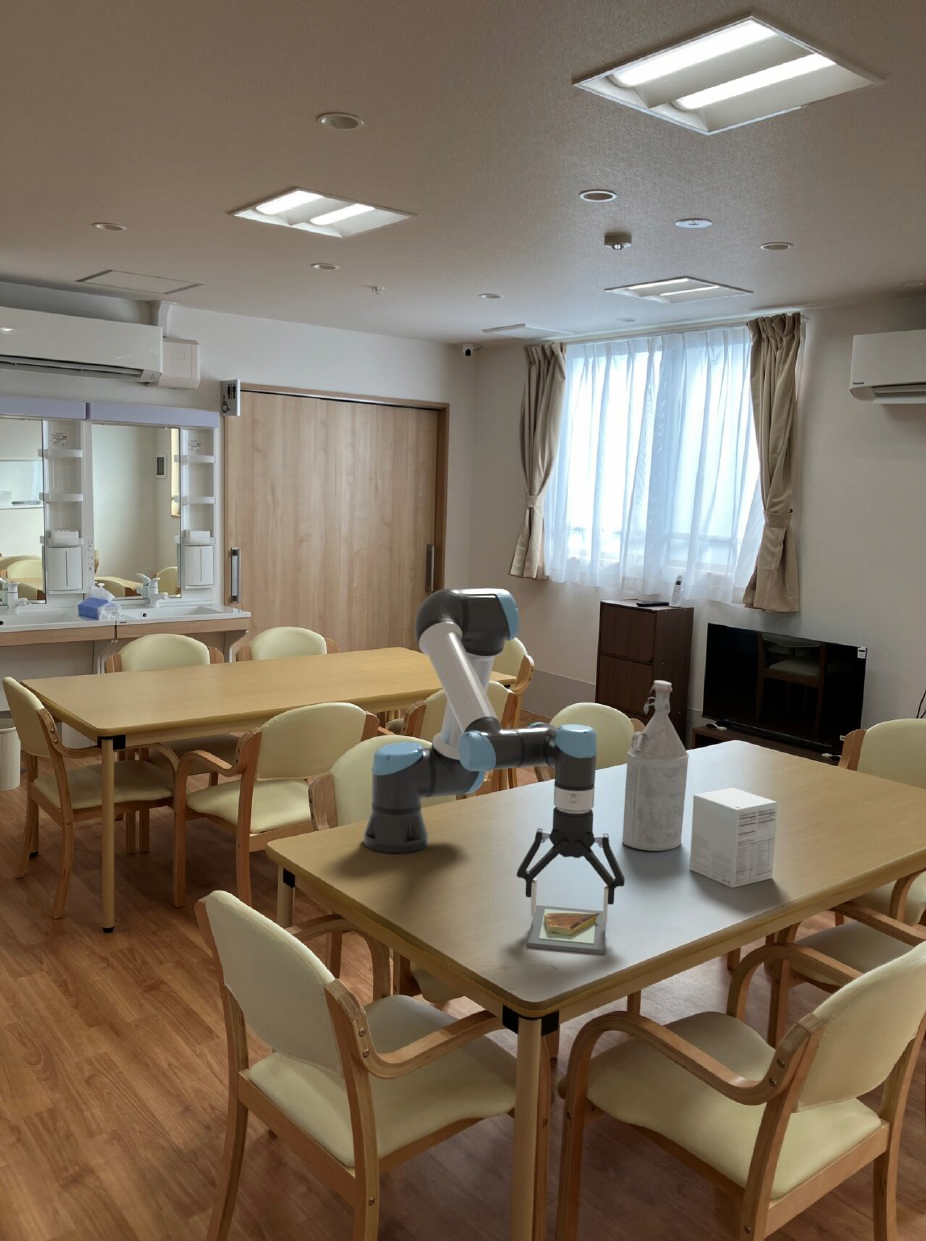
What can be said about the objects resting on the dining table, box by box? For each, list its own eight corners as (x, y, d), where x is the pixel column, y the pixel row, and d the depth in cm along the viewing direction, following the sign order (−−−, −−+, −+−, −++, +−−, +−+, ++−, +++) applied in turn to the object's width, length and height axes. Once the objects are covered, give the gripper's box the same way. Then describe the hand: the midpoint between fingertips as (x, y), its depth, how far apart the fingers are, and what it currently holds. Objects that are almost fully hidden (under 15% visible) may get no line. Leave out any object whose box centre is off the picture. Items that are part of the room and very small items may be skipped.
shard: (599, 920, 195) (599, 911, 195) (606, 937, 187) (607, 927, 187) (543, 920, 194) (543, 911, 194) (548, 936, 187) (548, 927, 186)
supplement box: (774, 878, 223) (779, 801, 221) (732, 889, 216) (737, 809, 214) (729, 860, 234) (733, 786, 232) (687, 869, 227) (692, 793, 225)
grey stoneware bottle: (607, 843, 244) (615, 680, 239) (653, 829, 255) (661, 674, 251) (649, 857, 234) (658, 689, 230) (694, 843, 245) (703, 682, 241)
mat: (527, 946, 184) (527, 941, 184) (535, 908, 202) (535, 904, 202) (604, 954, 182) (604, 948, 182) (606, 915, 200) (606, 910, 200)
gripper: (505, 808, 188) (501, 918, 190) (641, 818, 184) (635, 930, 186) (509, 797, 195) (505, 903, 197) (640, 807, 191) (635, 914, 194)
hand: (568, 916), depth 192 cm, fingers open, 13 cm apart
